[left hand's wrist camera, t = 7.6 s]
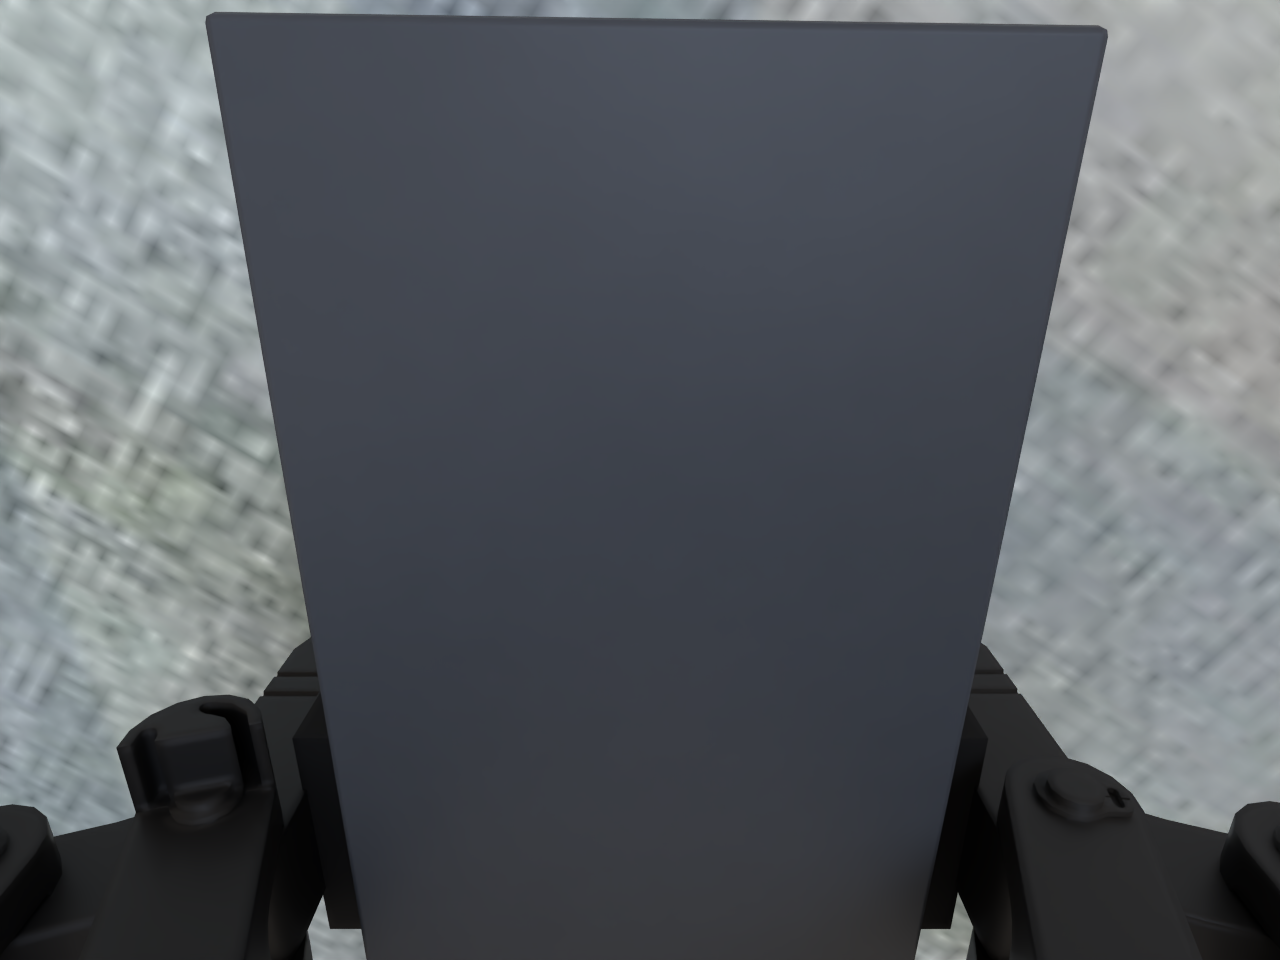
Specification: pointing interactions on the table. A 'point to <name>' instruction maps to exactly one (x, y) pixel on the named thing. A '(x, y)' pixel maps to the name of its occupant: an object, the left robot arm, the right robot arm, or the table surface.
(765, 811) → the beam
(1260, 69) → the table surface
